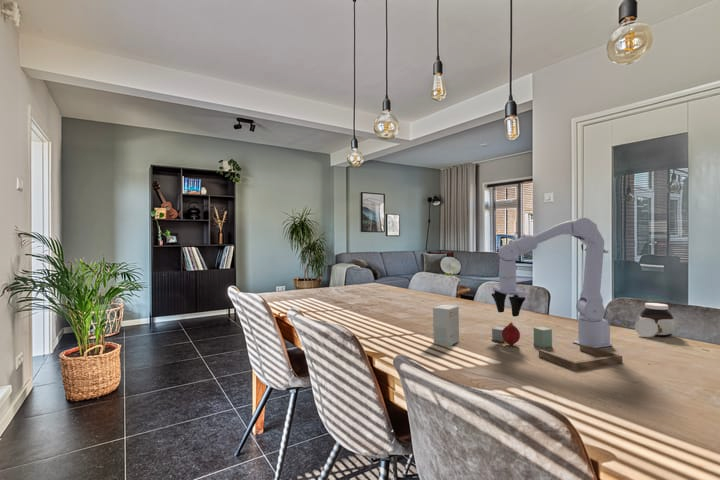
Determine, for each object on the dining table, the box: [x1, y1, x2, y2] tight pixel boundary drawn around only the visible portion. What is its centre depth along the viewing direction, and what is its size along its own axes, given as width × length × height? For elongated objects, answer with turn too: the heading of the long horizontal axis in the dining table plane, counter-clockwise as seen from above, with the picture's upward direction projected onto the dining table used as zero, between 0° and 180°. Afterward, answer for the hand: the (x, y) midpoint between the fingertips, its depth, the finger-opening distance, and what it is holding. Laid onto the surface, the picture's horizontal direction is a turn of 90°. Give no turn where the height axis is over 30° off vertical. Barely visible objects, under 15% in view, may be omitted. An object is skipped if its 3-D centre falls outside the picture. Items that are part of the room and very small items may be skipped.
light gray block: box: [491, 326, 505, 342], centre depth 135 cm, size 4×4×4 cm
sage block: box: [533, 326, 553, 349], centre depth 126 cm, size 4×4×6 cm
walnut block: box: [538, 344, 623, 371], centre depth 112 cm, size 18×13×2 cm
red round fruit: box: [502, 321, 521, 346], centre depth 127 cm, size 6×6×8 cm
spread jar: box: [634, 302, 675, 338], centre depth 137 cm, size 12×11×12 cm
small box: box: [432, 304, 460, 347], centre depth 131 cm, size 8×6×13 cm
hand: (508, 314), depth 134 cm, fingers open, 7 cm apart
